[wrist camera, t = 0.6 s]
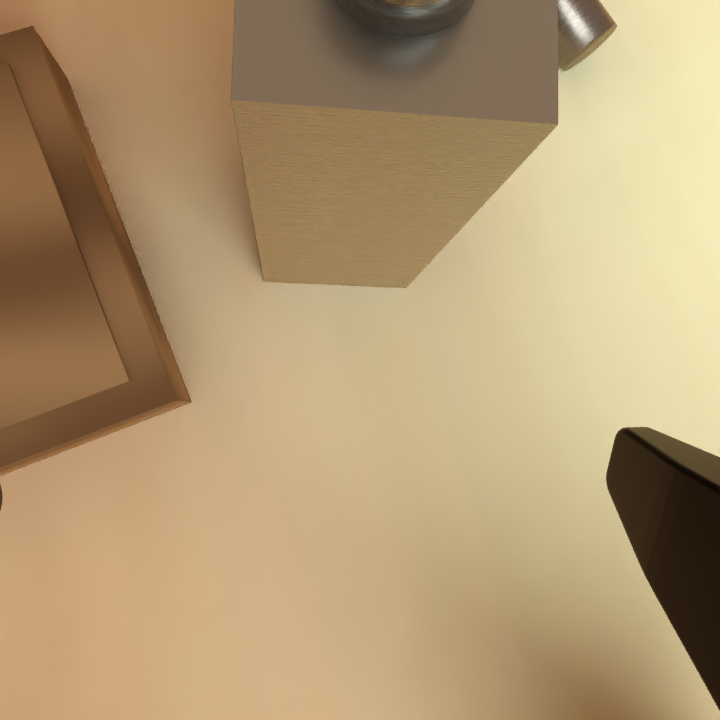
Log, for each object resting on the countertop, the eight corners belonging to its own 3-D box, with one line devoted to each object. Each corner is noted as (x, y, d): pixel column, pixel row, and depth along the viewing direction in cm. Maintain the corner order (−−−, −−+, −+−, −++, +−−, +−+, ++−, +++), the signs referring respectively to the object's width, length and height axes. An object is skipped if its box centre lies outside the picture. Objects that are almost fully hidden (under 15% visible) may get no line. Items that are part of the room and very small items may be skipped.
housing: (405, 287, 23) (595, 85, 9) (264, 281, 22) (222, 54, 8) (408, 152, 23) (591, -250, 9) (269, 142, 23) (237, -300, 9)
